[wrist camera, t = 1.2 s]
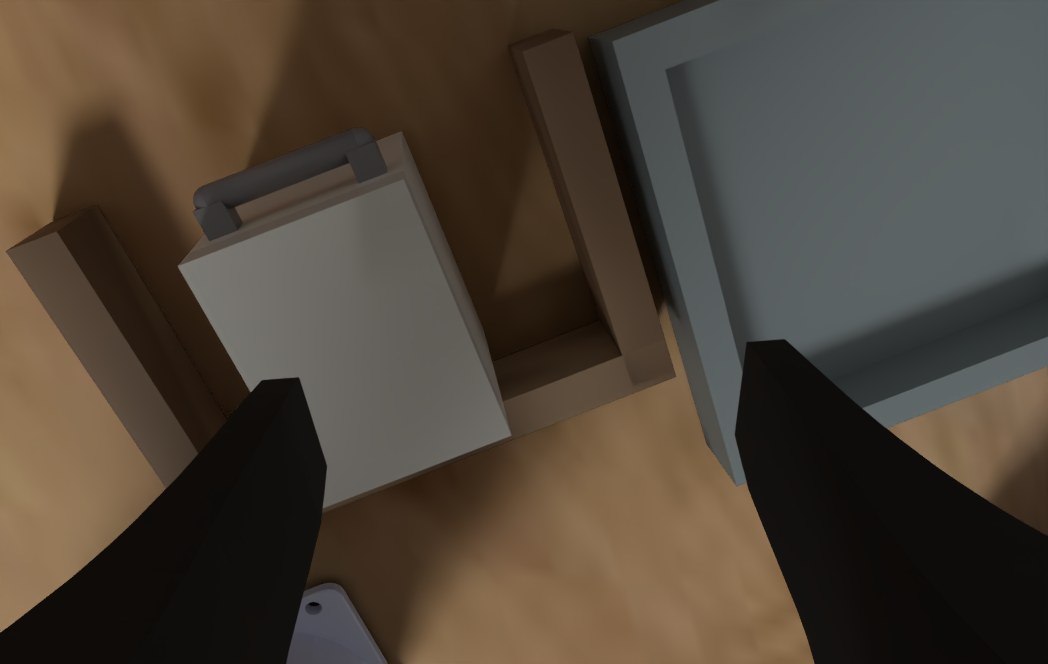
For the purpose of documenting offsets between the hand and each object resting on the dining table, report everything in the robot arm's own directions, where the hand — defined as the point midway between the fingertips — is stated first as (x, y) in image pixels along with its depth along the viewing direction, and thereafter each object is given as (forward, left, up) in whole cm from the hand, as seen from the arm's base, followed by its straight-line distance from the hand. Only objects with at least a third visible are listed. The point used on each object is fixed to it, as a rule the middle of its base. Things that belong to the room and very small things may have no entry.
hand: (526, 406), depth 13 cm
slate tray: (+11, -2, -9) cm, 15 cm away
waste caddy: (-3, +1, -9) cm, 10 cm away
